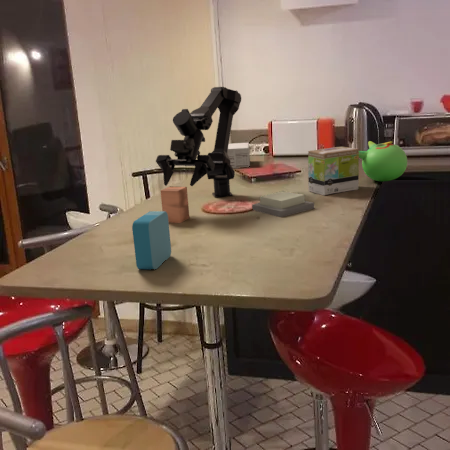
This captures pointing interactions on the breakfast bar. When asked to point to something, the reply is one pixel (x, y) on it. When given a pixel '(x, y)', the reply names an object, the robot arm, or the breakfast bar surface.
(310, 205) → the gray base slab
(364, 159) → the green rounded body
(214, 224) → the breakfast bar surface
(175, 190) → the terracotta block
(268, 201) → the sage top slab
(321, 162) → the tea box
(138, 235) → the data package
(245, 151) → the supplement box
